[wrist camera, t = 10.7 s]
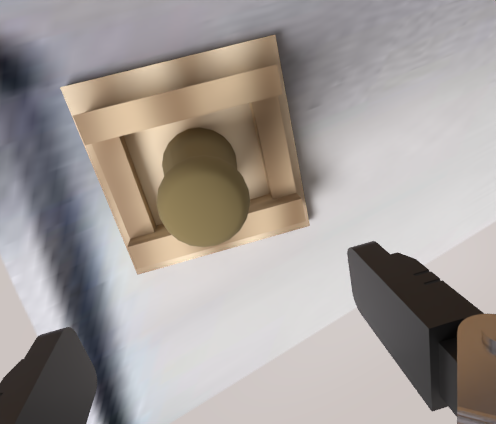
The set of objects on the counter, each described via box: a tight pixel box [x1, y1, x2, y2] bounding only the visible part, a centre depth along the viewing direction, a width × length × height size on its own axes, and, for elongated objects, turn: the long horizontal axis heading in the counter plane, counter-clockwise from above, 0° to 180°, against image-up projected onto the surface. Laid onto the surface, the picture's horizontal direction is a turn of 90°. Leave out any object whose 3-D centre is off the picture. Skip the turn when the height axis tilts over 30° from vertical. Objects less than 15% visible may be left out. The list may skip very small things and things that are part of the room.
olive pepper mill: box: [156, 128, 250, 247], centre depth 23 cm, size 6×6×11 cm
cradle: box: [60, 35, 310, 274], centre depth 27 cm, size 16×16×4 cm
